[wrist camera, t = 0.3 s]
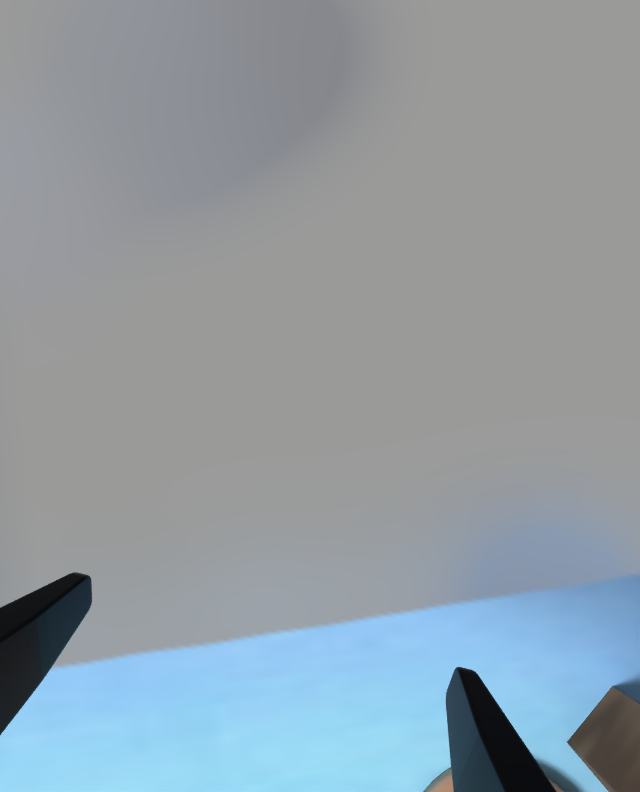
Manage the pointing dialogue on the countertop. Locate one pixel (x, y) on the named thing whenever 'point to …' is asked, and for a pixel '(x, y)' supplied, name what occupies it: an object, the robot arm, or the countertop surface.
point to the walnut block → (612, 742)
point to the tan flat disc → (443, 785)
